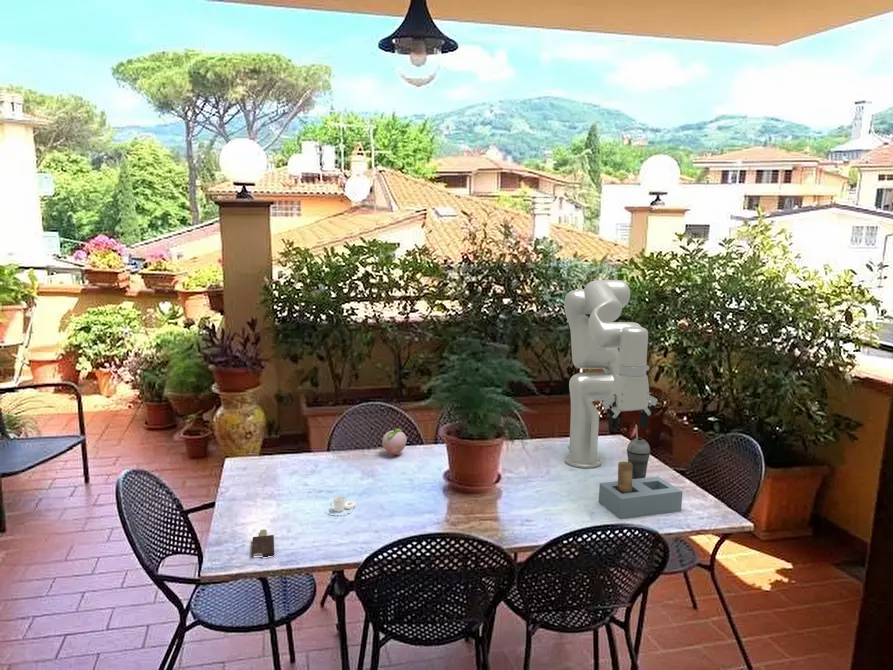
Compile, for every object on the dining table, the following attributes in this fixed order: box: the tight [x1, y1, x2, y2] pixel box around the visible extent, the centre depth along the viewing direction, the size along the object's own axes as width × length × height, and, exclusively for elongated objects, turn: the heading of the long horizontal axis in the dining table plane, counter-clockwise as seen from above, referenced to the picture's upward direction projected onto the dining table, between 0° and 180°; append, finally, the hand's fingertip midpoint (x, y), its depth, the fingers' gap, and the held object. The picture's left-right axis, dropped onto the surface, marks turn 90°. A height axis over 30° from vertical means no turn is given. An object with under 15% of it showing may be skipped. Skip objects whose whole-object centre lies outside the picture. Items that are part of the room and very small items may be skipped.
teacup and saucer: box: [329, 496, 357, 513], centre depth 192 cm, size 9×8×4 cm
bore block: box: [598, 475, 684, 520], centre depth 196 cm, size 12×20×6 cm, turn 107°
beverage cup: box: [626, 424, 651, 479], centre depth 210 cm, size 7×7×20 cm
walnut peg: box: [617, 461, 633, 494], centre depth 194 cm, size 4×4×12 cm
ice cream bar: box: [251, 529, 275, 558], centre depth 171 cm, size 5×2×15 cm
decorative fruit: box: [381, 427, 408, 456], centre depth 237 cm, size 9×8×10 cm
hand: (628, 429), depth 191 cm, fingers open, 9 cm apart
